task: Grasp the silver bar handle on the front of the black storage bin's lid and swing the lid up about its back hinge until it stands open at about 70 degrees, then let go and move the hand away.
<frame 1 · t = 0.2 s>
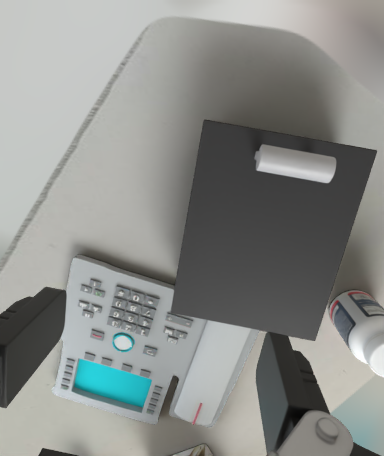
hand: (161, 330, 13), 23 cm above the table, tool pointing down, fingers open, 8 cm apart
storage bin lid: (267, 246, 26), point 10 cm above the table, hinge at 0.0°
office telephone: (150, 349, 41), on the table
pill bottle: (351, 308, 37), on the table
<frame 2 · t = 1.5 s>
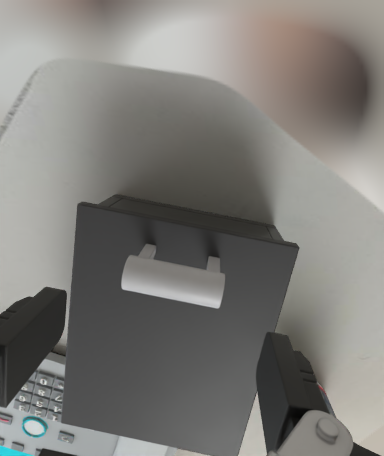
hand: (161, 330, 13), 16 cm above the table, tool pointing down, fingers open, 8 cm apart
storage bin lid: (160, 365, 20), point 10 cm above the table, hinge at 0.0°
office telephone: (70, 431, 35), on the table
black storage bin: (178, 297, 29), on the table
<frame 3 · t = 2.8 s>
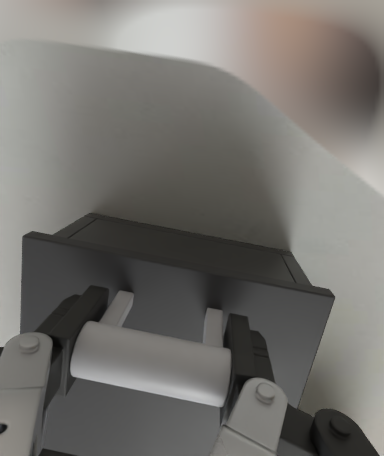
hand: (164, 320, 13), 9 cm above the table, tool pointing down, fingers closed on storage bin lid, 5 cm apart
black storage bin: (170, 338, 24), on the table
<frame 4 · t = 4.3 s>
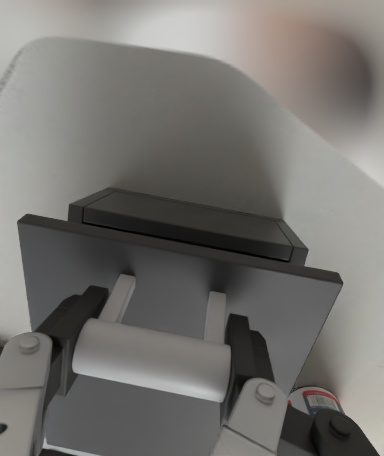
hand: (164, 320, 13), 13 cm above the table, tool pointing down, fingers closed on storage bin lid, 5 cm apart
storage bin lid: (149, 419, 16), point 12 cm above the table, hinge at 13.5°, touching gripper
pill bottle: (309, 407, 29), on the table
black storage bin: (178, 300, 27), on the table
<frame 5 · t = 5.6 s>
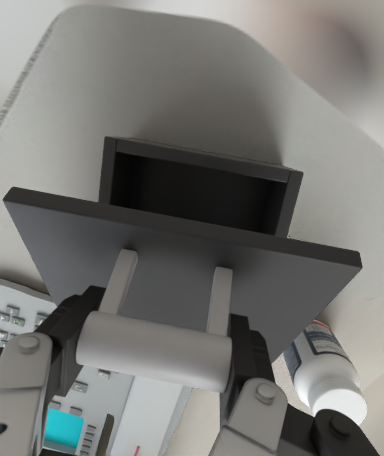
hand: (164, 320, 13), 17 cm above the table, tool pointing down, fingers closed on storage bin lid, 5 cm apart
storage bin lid: (162, 359, 17), point 14 cm above the table, hinge at 34.9°, touching gripper
office telephone: (82, 383, 36), on the table
pill bottle: (306, 339, 33), on the table
black storage bin: (190, 240, 31), on the table
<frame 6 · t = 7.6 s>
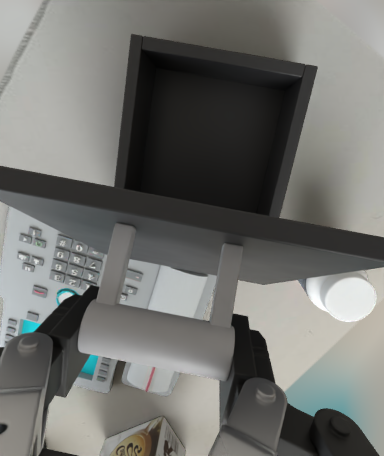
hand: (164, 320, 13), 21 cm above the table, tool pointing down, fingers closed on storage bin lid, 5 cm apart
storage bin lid: (175, 290, 18), point 16 cm above the table, hinge at 62.8°, touching gripper
office telephone: (100, 310, 37), on the table
pill bottle: (315, 260, 34), on the table
black storage bin: (205, 161, 32), on the table
coffee box: (146, 442, 42), on the table
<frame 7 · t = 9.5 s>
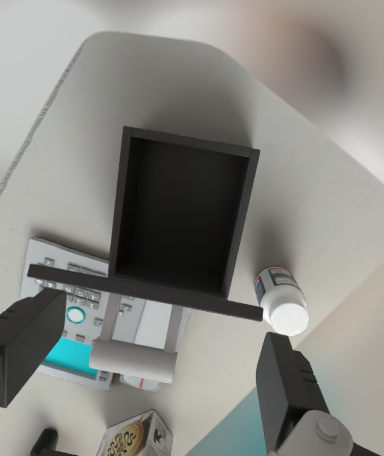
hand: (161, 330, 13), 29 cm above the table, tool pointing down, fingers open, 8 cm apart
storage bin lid: (152, 320, 26), point 16 cm above the table, hinge at 63.2°
office telephone: (101, 322, 46), on the table
pill bottle: (274, 283, 42), on the table
black storage bin: (184, 206, 40), on the table
coffee box: (140, 431, 50), on the table
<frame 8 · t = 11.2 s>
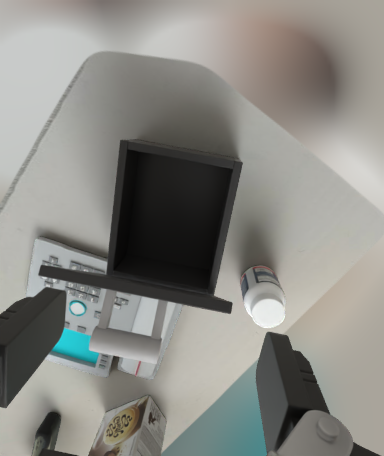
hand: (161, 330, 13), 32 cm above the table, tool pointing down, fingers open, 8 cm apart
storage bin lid: (144, 312, 31), point 16 cm above the table, hinge at 63.2°
office telephone: (101, 315, 50), on the table
pill bottle: (258, 280, 46), on the table
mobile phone: (49, 441, 58), on the table
black storage bin: (176, 210, 44), on the table
coffee box: (136, 415, 55), on the table
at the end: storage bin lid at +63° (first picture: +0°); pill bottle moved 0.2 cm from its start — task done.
